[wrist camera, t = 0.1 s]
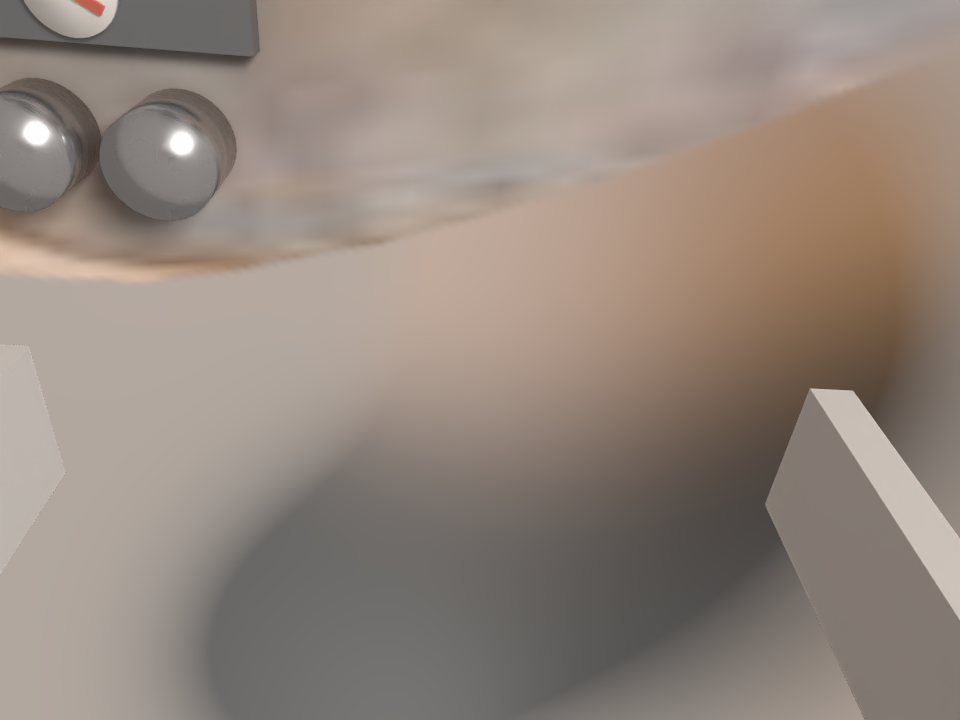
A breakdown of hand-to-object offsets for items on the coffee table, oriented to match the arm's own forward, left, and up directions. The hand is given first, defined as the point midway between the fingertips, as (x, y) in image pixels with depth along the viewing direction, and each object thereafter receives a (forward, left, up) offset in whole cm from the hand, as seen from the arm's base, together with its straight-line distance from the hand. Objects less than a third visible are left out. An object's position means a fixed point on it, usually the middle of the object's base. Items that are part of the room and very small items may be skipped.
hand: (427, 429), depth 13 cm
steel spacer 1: (+4, -19, -27) cm, 33 cm away
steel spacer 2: (+4, -13, -27) cm, 30 cm away
